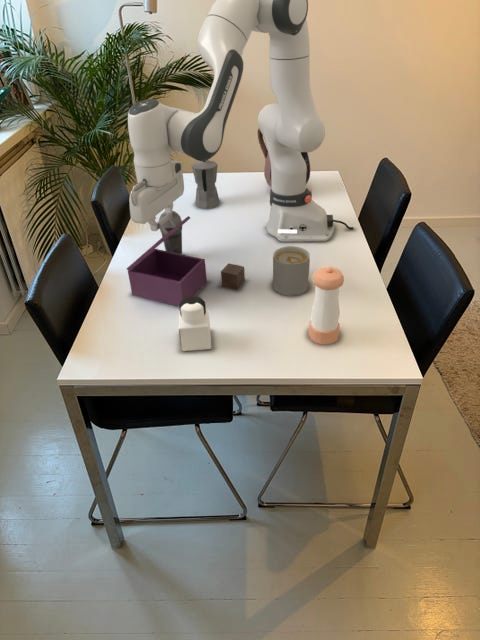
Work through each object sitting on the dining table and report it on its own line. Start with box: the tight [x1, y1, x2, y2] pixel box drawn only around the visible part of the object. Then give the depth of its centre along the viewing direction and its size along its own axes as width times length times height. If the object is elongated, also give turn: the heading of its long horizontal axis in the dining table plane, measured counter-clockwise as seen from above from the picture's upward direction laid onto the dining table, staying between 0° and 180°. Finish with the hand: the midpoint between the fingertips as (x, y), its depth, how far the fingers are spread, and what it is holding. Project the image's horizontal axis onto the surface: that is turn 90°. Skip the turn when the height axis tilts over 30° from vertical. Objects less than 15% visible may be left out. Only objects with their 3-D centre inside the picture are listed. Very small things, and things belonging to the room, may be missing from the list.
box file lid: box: [126, 215, 191, 272], centre depth 134 cm, size 18×14×5 cm
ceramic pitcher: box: [257, 128, 311, 189], centre depth 189 cm, size 18×21×25 cm
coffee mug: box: [272, 245, 311, 297], centre depth 140 cm, size 13×10×10 cm
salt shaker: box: [308, 266, 345, 345], centre depth 117 cm, size 7×7×19 cm
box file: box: [127, 248, 208, 307], centre depth 140 cm, size 17×14×8 cm
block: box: [220, 263, 246, 291], centre depth 142 cm, size 5×5×5 cm
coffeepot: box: [191, 159, 221, 210], centre depth 182 cm, size 15×9×18 cm, turn 1°
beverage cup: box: [158, 210, 183, 254], centre depth 151 cm, size 7×7×20 cm
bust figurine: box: [178, 295, 212, 352], centre depth 119 cm, size 7×7×12 cm
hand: (162, 224), depth 130 cm, fingers closed on box file lid, 5 cm apart
